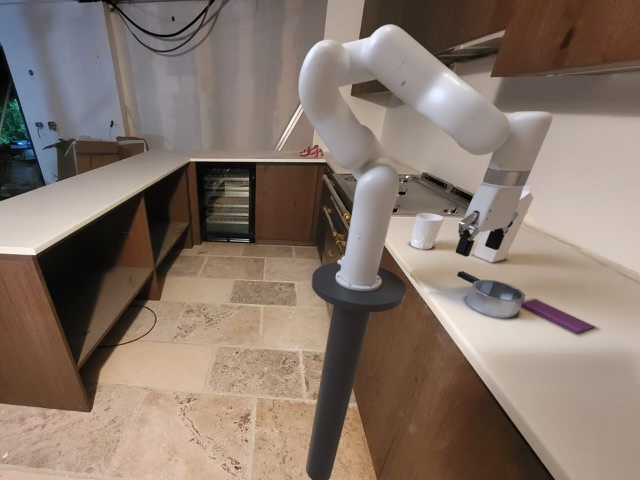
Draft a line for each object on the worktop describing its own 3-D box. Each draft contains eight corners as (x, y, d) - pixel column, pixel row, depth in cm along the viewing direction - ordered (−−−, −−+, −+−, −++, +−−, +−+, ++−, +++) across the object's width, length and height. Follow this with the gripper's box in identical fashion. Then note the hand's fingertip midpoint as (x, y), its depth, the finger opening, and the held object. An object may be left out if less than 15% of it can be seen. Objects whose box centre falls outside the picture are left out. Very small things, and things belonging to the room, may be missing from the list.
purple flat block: (517, 304, 77) (518, 302, 77) (534, 300, 79) (535, 298, 79) (576, 333, 68) (577, 331, 68) (594, 327, 70) (595, 325, 69)
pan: (440, 290, 84) (445, 274, 81) (468, 283, 87) (474, 268, 84) (495, 321, 72) (504, 304, 69) (526, 312, 75) (536, 295, 72)
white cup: (406, 246, 108) (414, 217, 103) (411, 239, 114) (419, 211, 108) (432, 251, 104) (442, 222, 99) (435, 244, 110) (445, 215, 105)
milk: (485, 252, 104) (516, 181, 92) (505, 259, 99) (539, 185, 87) (472, 255, 102) (502, 183, 90) (492, 262, 97) (525, 187, 85)
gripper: (515, 171, 74) (487, 240, 84) (459, 178, 70) (436, 251, 79) (551, 176, 68) (517, 251, 77) (493, 185, 64) (464, 263, 73)
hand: (476, 251), depth 78 cm, fingers open, 9 cm apart
